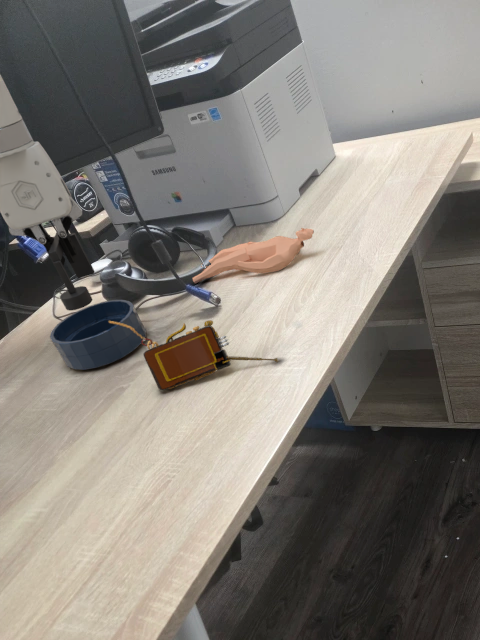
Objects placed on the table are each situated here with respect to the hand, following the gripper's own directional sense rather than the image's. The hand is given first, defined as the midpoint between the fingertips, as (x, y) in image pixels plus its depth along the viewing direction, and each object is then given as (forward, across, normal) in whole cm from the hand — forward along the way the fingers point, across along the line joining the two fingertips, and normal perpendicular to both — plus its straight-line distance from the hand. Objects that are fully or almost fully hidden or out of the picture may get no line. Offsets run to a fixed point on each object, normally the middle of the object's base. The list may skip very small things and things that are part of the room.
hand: (67, 261), depth 107 cm
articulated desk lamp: (+5, 0, 0) cm, 5 cm away
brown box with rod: (+14, +19, -27) cm, 35 cm away
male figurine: (+13, +30, +10) cm, 34 cm away
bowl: (+14, +1, -6) cm, 15 cm away
